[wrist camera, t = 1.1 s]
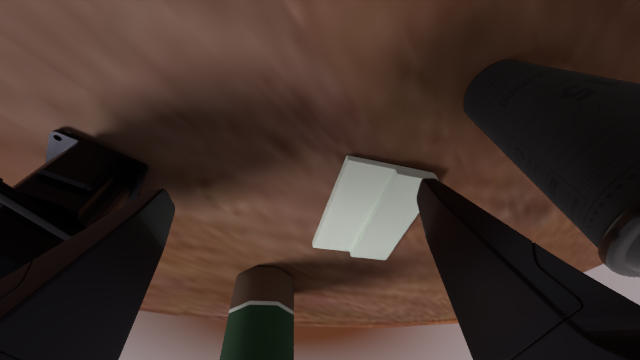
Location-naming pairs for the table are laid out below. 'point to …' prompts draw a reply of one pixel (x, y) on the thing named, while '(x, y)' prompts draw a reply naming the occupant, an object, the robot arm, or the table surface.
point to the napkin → (369, 208)
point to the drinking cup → (570, 146)
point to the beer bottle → (261, 316)
